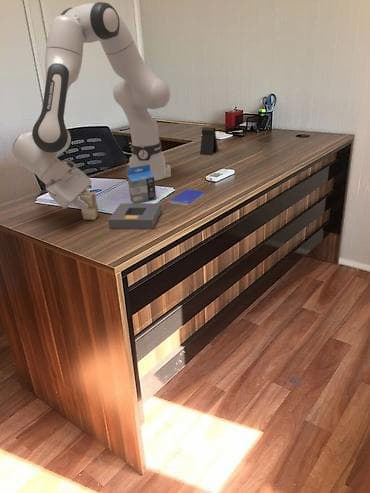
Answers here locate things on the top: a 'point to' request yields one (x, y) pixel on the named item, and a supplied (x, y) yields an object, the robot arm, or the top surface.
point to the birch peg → (92, 210)
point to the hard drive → (187, 197)
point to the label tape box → (141, 184)
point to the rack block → (135, 216)
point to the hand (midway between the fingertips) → (90, 204)
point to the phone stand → (208, 141)
